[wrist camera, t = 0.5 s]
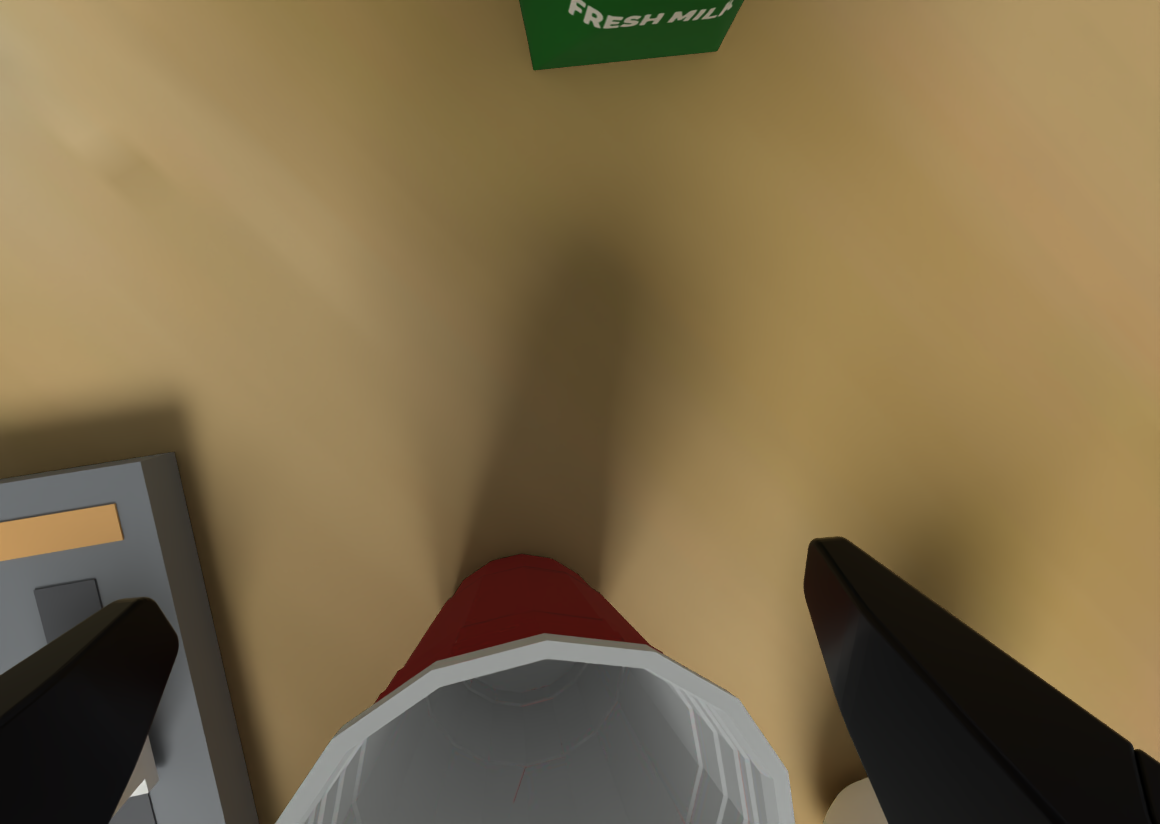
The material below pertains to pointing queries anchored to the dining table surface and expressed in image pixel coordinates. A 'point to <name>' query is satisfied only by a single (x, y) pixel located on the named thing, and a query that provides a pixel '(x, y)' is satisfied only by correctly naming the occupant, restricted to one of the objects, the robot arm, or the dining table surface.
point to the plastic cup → (544, 723)
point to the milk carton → (622, 29)
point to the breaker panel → (116, 571)
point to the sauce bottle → (856, 806)
